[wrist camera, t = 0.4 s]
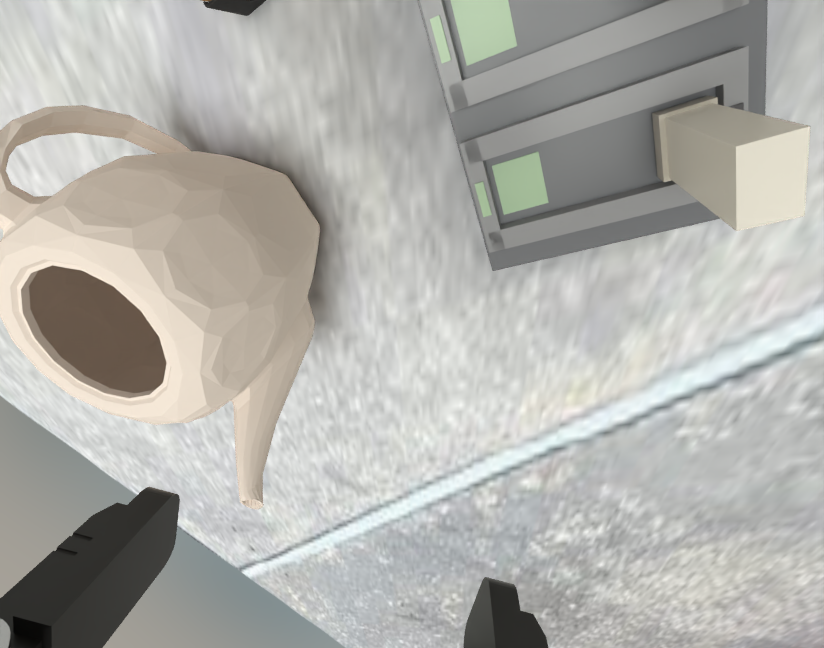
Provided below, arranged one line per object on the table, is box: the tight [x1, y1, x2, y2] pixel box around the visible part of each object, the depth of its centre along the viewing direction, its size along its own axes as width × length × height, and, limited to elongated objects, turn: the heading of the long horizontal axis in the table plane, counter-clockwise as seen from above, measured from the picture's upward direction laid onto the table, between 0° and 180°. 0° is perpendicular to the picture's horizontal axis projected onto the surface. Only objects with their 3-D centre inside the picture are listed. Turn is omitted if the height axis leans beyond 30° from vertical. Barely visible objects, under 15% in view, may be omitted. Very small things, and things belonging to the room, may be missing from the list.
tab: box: [652, 96, 810, 231], centre depth 23 cm, size 4×3×12 cm
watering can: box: [0, 105, 320, 509], centre depth 32 cm, size 16×27×19 cm, turn 30°
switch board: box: [418, 0, 767, 271], centre depth 27 cm, size 22×18×3 cm
